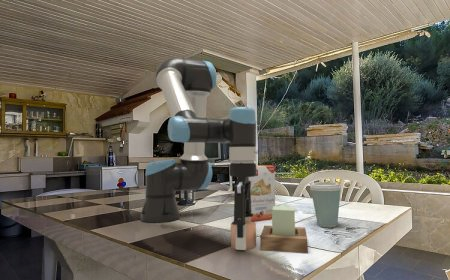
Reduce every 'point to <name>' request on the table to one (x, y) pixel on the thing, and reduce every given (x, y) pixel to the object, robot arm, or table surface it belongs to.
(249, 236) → the peach block
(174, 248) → the table surface
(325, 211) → the disposable coffee cup
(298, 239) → the walnut base
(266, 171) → the cracker box
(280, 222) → the sage block
